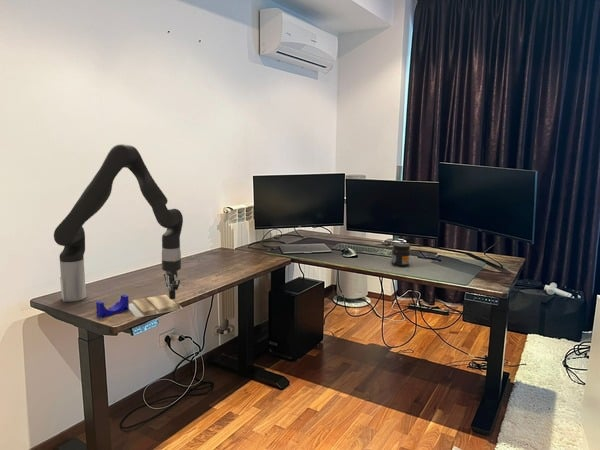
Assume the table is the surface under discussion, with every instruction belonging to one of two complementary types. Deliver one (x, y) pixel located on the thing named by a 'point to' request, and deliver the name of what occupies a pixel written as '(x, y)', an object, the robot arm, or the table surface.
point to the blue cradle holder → (117, 308)
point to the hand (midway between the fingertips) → (172, 298)
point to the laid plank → (144, 306)
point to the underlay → (139, 314)
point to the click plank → (163, 303)
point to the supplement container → (401, 255)
